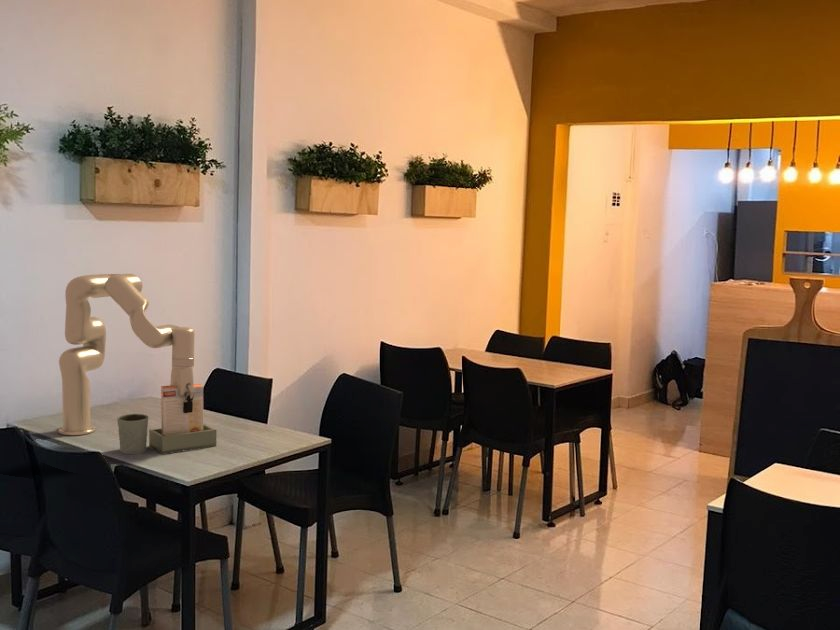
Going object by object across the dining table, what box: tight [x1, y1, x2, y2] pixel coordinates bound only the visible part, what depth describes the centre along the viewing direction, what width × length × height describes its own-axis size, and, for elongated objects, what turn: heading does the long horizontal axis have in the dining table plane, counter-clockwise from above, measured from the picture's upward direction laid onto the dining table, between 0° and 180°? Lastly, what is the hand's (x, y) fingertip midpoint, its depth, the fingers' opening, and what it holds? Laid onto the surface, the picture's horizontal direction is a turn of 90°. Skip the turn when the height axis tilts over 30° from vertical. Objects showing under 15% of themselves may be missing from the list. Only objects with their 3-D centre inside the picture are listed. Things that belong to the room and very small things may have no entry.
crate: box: [148, 422, 217, 455], centre depth 302 cm, size 12×20×6 cm, turn 129°
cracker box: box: [160, 383, 204, 436], centre depth 301 cm, size 14×6×21 cm, turn 114°
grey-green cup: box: [116, 413, 149, 455], centre depth 294 cm, size 10×10×12 cm
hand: (182, 409), depth 301 cm, fingers open, 9 cm apart
